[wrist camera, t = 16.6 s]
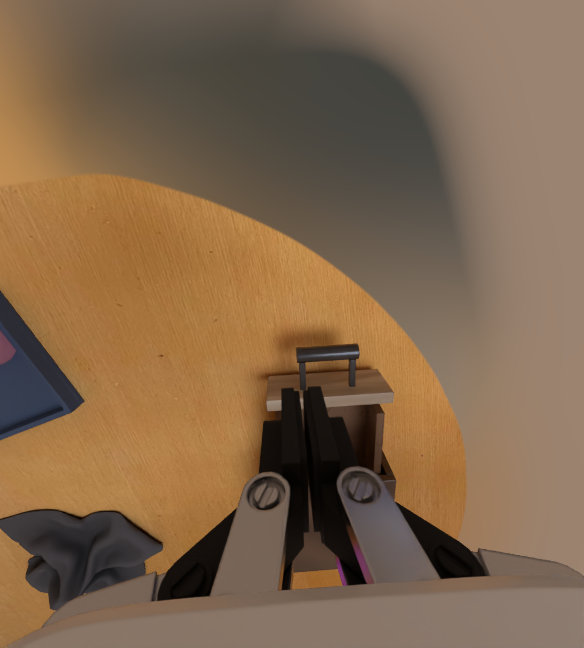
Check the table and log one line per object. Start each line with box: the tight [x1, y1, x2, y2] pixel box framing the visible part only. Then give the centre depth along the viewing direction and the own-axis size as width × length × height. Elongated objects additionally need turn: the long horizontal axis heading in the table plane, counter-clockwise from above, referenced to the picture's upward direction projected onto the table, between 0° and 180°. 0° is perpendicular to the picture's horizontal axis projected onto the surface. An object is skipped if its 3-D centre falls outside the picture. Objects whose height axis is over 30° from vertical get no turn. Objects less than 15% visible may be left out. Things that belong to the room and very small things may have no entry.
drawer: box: [266, 344, 394, 475], centre depth 30 cm, size 17×12×5 cm
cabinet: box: [293, 451, 396, 573], centre depth 34 cm, size 14×14×7 cm
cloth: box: [0, 510, 163, 610], centre depth 37 cm, size 22×19×6 cm
